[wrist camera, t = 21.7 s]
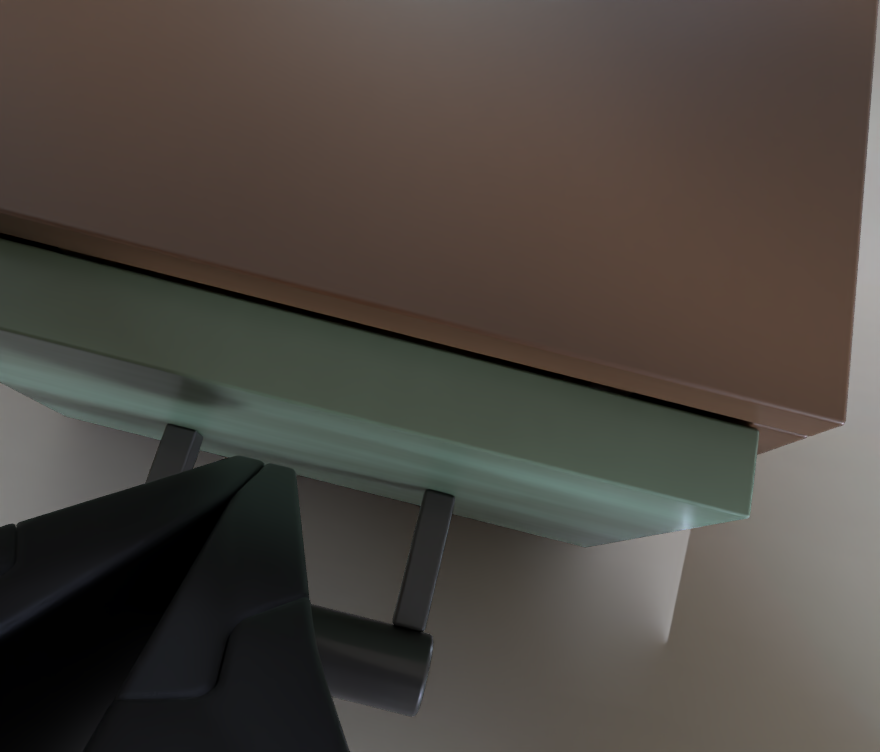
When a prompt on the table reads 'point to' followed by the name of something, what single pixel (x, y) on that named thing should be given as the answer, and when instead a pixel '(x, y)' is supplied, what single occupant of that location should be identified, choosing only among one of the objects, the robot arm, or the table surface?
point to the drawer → (362, 428)
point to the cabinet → (476, 175)
